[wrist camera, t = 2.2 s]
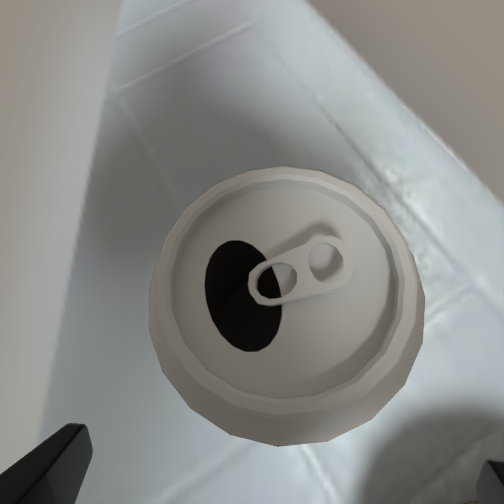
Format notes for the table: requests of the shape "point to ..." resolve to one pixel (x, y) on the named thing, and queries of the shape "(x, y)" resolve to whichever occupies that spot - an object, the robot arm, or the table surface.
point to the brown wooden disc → (472, 502)
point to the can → (286, 306)
